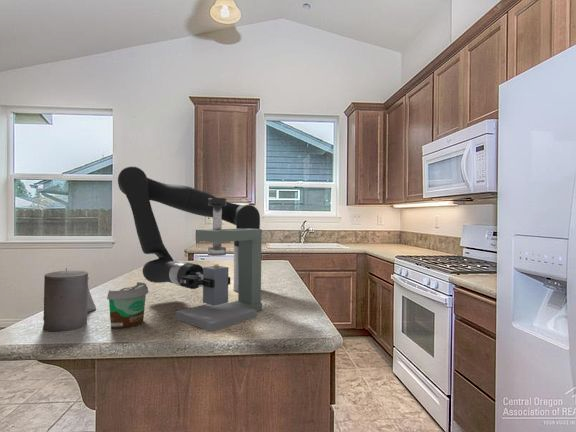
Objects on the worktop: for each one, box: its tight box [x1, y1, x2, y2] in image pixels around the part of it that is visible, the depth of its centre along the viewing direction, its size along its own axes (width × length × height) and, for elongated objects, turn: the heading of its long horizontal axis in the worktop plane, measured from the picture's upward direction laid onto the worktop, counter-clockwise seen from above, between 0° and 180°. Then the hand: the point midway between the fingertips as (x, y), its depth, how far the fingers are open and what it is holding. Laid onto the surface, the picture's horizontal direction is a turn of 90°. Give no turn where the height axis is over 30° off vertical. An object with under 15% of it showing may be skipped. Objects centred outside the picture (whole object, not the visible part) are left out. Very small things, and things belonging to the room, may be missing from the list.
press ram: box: [207, 197, 227, 257], centre depth 96 cm, size 5×5×16 cm
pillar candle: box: [42, 268, 89, 332], centre depth 88 cm, size 10×10×15 cm
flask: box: [87, 276, 97, 313], centre depth 102 cm, size 7×7×10 cm
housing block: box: [202, 263, 229, 306], centre depth 96 cm, size 5×5×11 cm
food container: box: [106, 281, 149, 330], centre depth 90 cm, size 12×6×10 cm, turn 168°
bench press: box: [175, 228, 263, 332], centre depth 99 cm, size 23×16×25 cm
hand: (221, 282), depth 94 cm, fingers closed on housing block, 5 cm apart
